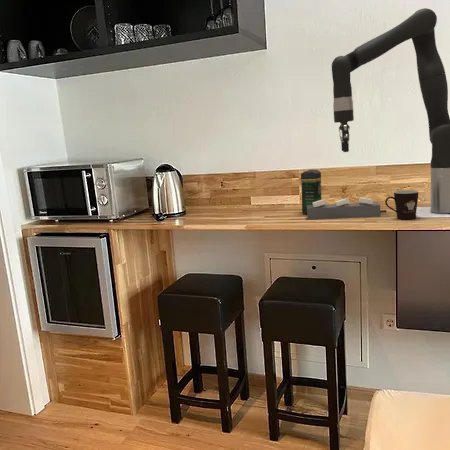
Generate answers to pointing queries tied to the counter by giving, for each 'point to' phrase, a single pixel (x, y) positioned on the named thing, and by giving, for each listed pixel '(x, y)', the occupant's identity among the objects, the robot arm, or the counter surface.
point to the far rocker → (319, 203)
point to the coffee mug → (405, 204)
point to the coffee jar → (310, 188)
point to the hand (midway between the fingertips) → (345, 151)
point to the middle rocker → (342, 201)
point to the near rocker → (366, 200)
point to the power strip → (344, 211)
